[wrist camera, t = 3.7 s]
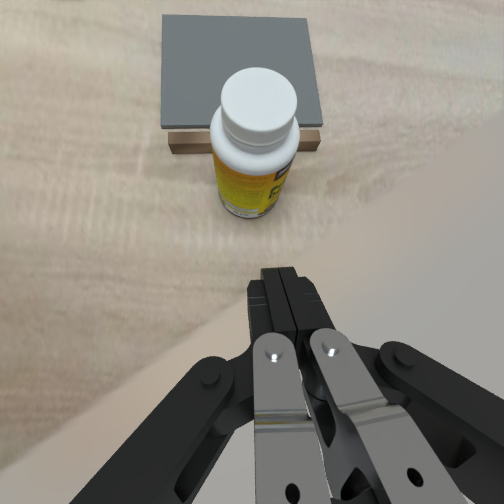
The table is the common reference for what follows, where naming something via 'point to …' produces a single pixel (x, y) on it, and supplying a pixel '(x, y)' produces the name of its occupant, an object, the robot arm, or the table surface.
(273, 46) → the mat
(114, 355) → the table surface
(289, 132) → the supplement bottle
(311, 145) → the rail
